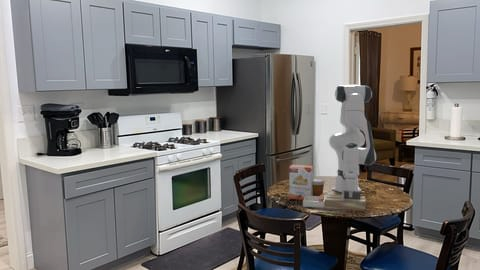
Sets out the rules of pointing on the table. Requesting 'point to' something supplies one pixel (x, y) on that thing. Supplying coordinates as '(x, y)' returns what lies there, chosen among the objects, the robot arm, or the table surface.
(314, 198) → the box
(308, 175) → the cracker box
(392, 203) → the table surface
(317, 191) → the disposable coffee cup
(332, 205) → the bench plate
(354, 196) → the grey block
